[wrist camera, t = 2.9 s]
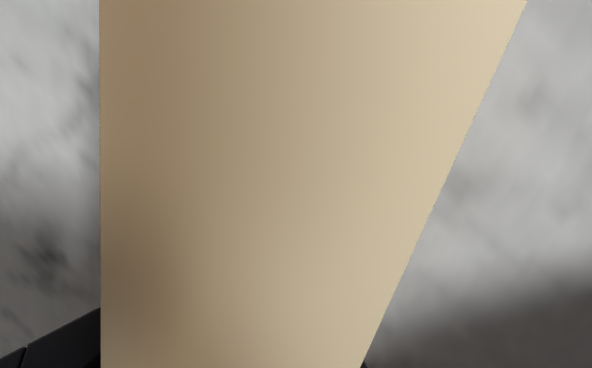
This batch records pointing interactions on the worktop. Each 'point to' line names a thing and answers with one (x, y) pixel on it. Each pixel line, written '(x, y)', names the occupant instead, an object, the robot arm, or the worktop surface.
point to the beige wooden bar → (275, 168)
